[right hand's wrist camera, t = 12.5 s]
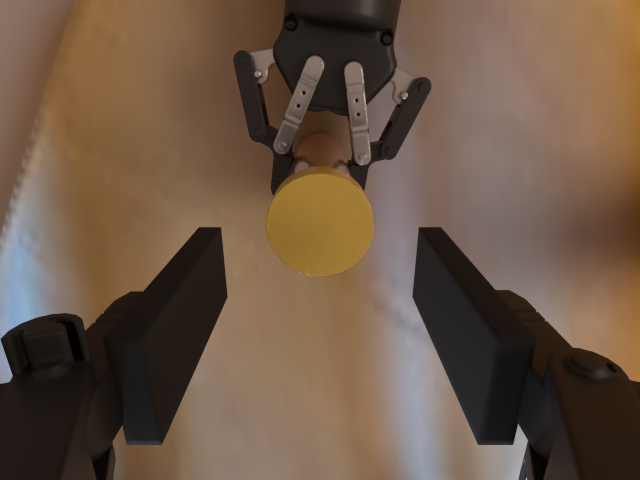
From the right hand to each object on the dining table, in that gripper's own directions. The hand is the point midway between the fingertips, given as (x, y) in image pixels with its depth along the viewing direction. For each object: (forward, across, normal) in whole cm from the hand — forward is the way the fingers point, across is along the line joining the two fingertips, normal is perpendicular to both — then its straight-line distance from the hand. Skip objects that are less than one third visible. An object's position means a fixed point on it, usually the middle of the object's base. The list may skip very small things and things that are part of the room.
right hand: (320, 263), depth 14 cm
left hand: (+17, 0, -3) cm, 17 cm away
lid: (+4, 0, 0) cm, 4 cm away
